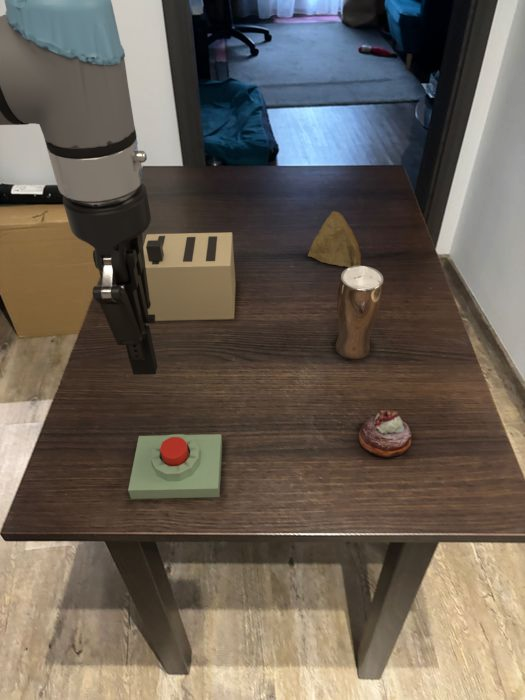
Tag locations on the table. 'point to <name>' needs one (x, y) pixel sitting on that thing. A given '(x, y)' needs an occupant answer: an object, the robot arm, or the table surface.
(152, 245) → the button
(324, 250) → the rock
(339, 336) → the beer glass
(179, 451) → the red button
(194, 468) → the control block
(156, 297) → the toaster
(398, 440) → the pastry
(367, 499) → the table surface
